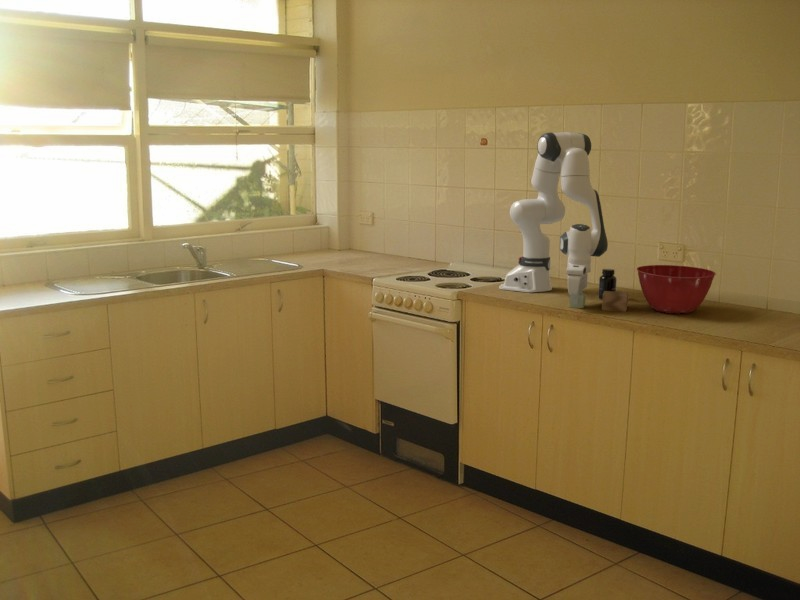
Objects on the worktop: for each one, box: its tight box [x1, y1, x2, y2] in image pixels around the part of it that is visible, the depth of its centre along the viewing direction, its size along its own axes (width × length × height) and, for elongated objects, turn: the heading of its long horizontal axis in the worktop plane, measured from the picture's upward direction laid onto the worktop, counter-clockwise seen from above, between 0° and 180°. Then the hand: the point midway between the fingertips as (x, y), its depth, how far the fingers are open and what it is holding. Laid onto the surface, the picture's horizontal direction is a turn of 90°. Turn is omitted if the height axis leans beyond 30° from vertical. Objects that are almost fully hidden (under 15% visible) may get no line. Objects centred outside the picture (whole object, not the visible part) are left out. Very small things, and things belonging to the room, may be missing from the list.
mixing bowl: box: [636, 264, 717, 315], centre depth 311 cm, size 28×28×16 cm
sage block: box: [568, 292, 586, 309], centre depth 319 cm, size 5×5×5 cm
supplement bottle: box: [597, 268, 617, 300], centre depth 334 cm, size 7×7×12 cm
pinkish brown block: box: [601, 290, 629, 312], centre depth 315 cm, size 9×9×6 cm
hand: (577, 302), depth 319 cm, fingers closed on sage block, 5 cm apart
